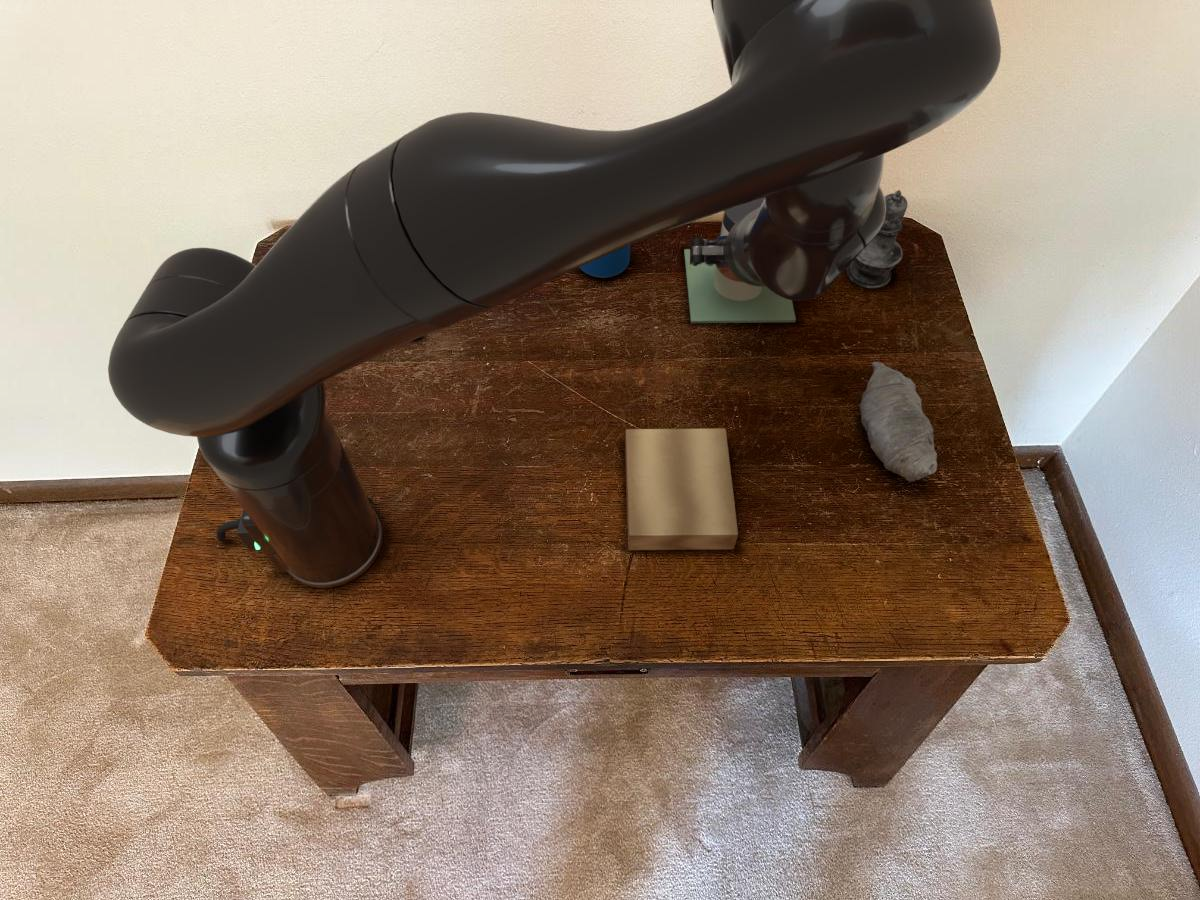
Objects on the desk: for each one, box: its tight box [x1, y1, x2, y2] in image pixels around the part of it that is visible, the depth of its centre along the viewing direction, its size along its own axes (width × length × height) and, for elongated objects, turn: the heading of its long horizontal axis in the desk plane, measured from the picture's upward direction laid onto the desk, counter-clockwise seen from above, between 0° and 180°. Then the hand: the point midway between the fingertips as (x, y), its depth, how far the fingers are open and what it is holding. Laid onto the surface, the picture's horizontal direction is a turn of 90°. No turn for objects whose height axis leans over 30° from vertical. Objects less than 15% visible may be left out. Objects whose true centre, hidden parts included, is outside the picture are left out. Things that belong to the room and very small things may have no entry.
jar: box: [713, 197, 765, 301], centre depth 90 cm, size 6×11×6 cm
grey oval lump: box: [859, 361, 938, 482], centre depth 80 cm, size 6×14×8 cm, turn 5°
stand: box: [624, 427, 739, 551], centre depth 77 cm, size 10×12×3 cm
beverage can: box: [579, 245, 631, 279], centre depth 92 cm, size 6×6×12 cm
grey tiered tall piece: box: [845, 189, 909, 289], centre depth 91 cm, size 6×6×12 cm
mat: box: [683, 248, 797, 324], centre depth 95 cm, size 12×12×1 cm
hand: (740, 255), depth 93 cm, fingers open, 6 cm apart
